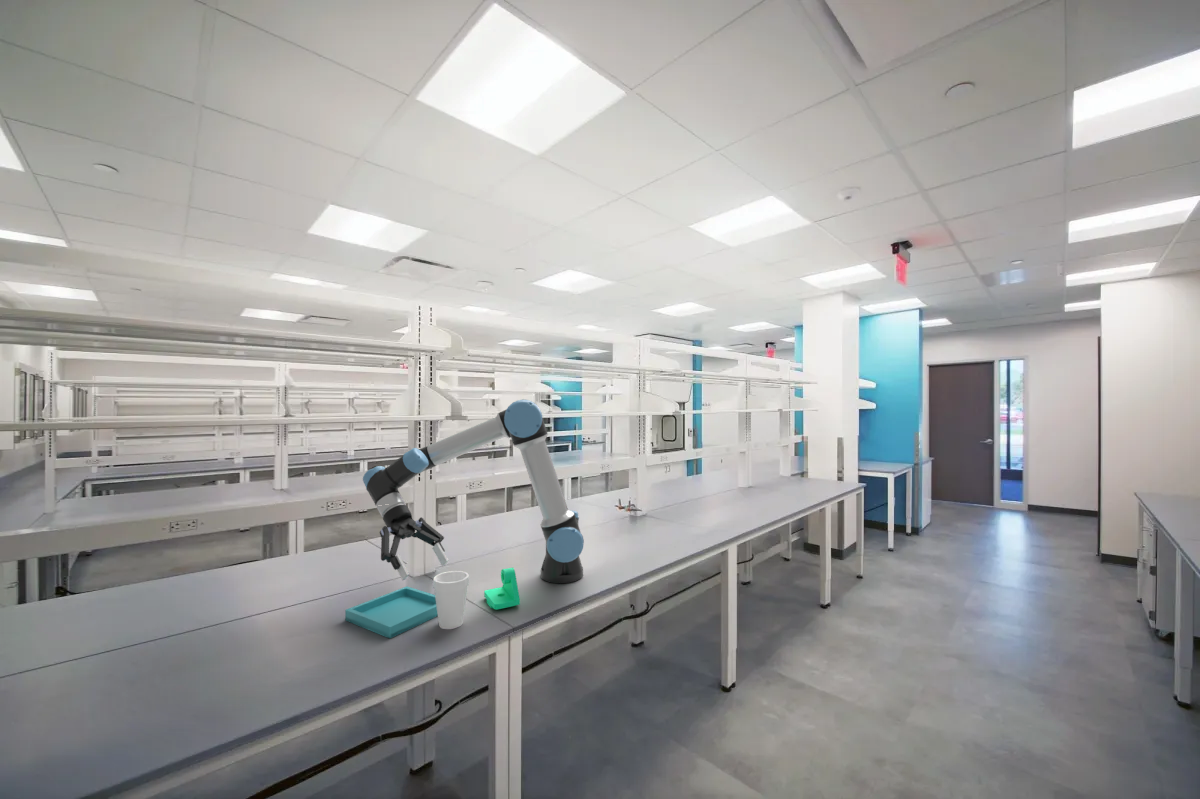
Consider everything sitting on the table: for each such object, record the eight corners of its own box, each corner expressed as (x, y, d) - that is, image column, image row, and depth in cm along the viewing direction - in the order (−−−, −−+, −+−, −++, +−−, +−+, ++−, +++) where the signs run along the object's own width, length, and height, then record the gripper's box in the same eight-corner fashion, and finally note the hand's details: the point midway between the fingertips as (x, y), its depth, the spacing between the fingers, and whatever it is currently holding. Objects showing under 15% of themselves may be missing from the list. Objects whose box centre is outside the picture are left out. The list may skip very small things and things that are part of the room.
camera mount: (483, 598, 147) (483, 566, 147) (506, 594, 151) (507, 562, 151) (494, 613, 137) (495, 578, 137) (519, 608, 140) (519, 573, 140)
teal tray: (406, 595, 149) (406, 586, 149) (450, 609, 138) (450, 599, 138) (345, 620, 131) (345, 609, 132) (390, 638, 121) (390, 627, 121)
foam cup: (456, 613, 136) (456, 568, 136) (475, 622, 130) (475, 575, 131) (426, 625, 129) (426, 577, 129) (445, 635, 123) (445, 586, 123)
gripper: (422, 511, 154) (454, 565, 147) (349, 527, 133) (381, 591, 125) (433, 496, 152) (466, 550, 144) (360, 511, 130) (393, 575, 122)
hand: (426, 570), depth 134 cm, fingers open, 13 cm apart
